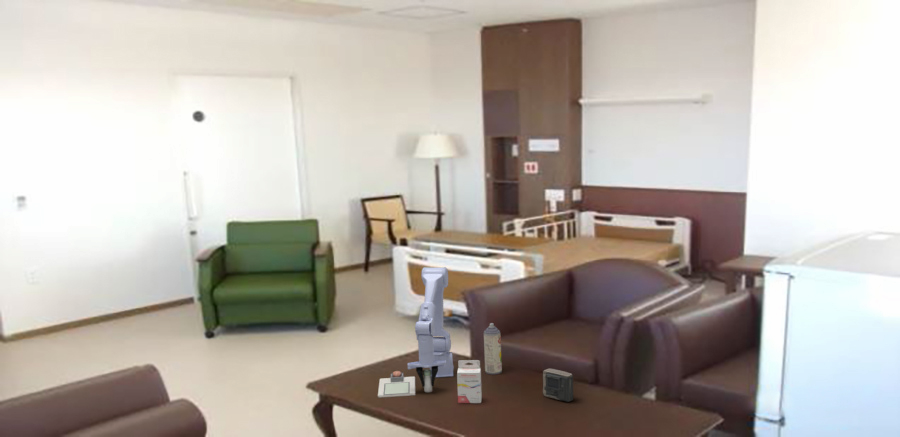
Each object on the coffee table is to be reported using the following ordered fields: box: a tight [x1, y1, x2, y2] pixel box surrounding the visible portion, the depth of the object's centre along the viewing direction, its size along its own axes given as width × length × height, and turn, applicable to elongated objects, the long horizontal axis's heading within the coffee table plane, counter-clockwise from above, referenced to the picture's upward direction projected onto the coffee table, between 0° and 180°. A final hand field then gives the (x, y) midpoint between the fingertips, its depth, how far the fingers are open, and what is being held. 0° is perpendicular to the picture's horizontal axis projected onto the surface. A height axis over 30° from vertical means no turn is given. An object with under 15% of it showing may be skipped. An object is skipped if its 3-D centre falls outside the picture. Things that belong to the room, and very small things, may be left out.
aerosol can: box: [483, 322, 503, 375], centre depth 289 cm, size 7×7×20 cm
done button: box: [392, 370, 402, 377], centre depth 284 cm, size 3×3×2 cm
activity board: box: [377, 372, 416, 398], centre depth 277 cm, size 14×18×3 cm
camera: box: [542, 368, 574, 403], centre depth 259 cm, size 11×6×10 cm, turn 47°
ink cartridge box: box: [456, 359, 483, 404], centre depth 260 cm, size 9×5×15 cm, turn 84°
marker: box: [423, 368, 433, 393], centre depth 272 cm, size 3×3×8 cm
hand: (428, 385), depth 272 cm, fingers closed on marker, 3 cm apart
